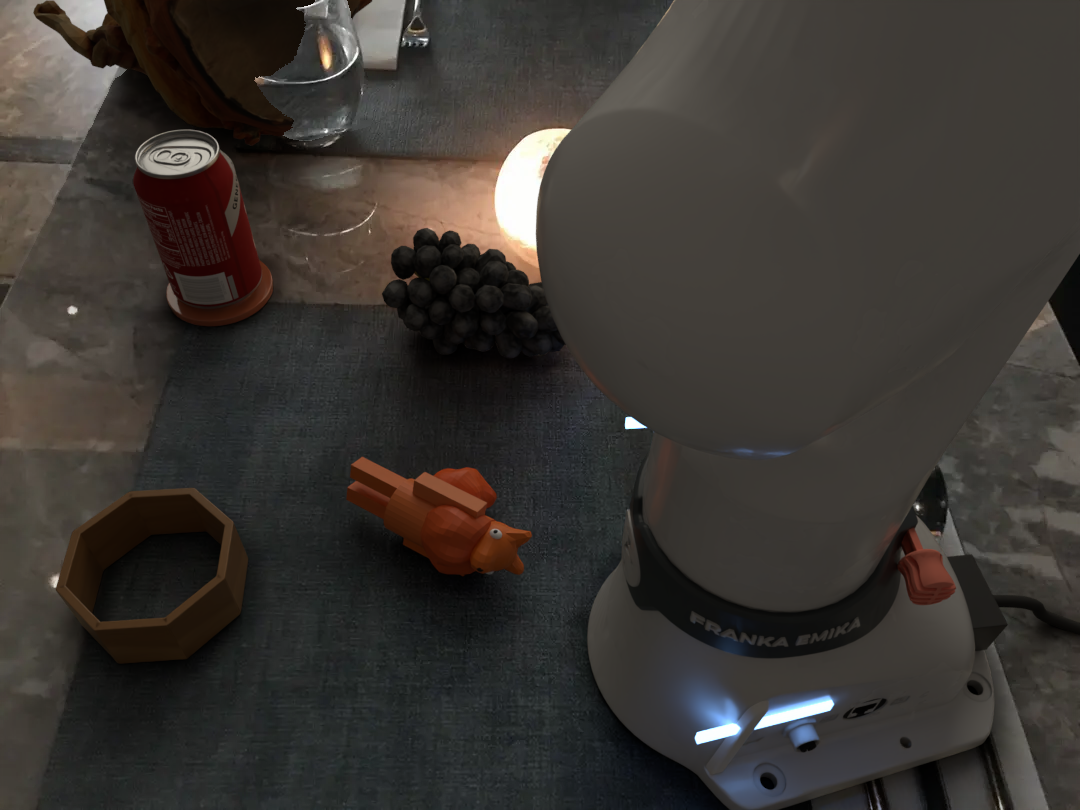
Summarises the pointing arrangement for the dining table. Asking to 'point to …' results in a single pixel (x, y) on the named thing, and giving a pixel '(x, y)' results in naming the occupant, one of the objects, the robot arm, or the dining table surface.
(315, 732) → the dining table surface
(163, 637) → the can holder
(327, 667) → the dining table surface
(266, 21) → the sculpture
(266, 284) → the coaster
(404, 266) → the fruit
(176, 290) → the soda can
